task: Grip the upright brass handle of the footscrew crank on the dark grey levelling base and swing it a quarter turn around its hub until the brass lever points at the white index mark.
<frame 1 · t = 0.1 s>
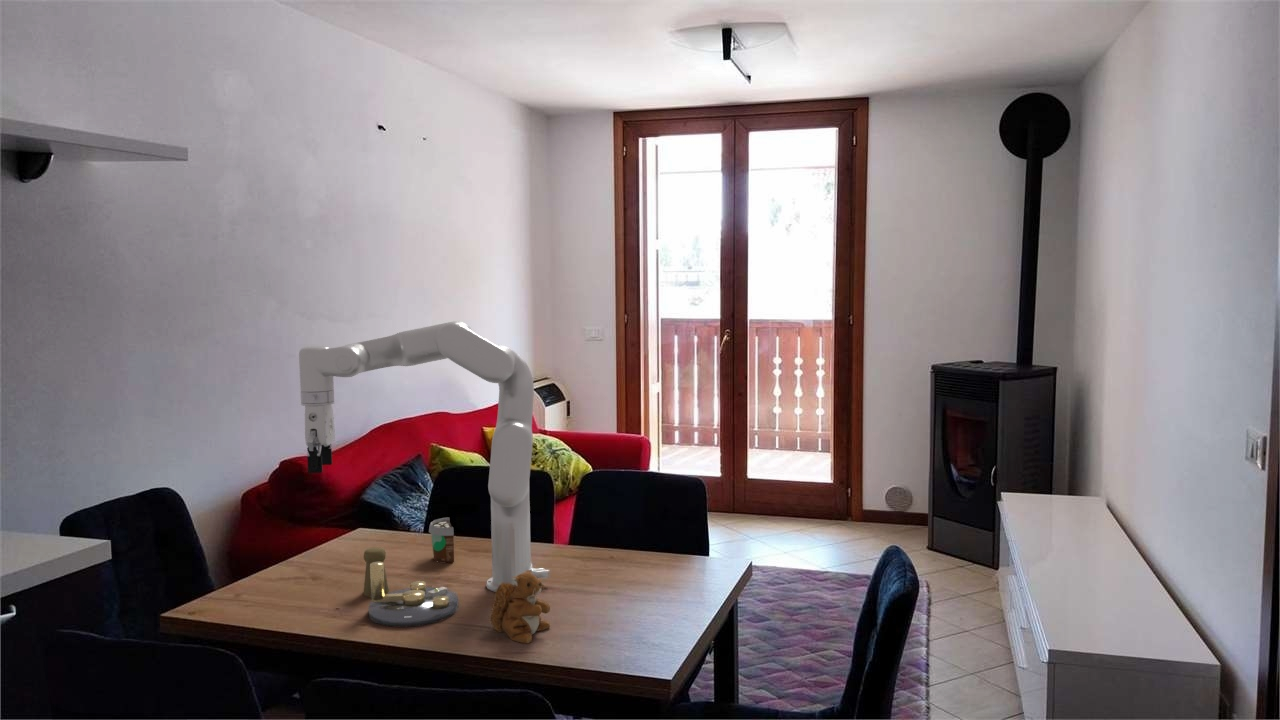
hand: (320, 468, 213), 31 cm above the table, tool pointing down, fingers open, 9 cm apart
footscrew crank: (397, 582, 203), point 7 cm above the table, hinge at 0.0°
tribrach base: (414, 610, 204), on the table
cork: (376, 593, 217), on the table
stuffed squirrel: (517, 632, 191), on the table
food container: (441, 559, 243), on the table
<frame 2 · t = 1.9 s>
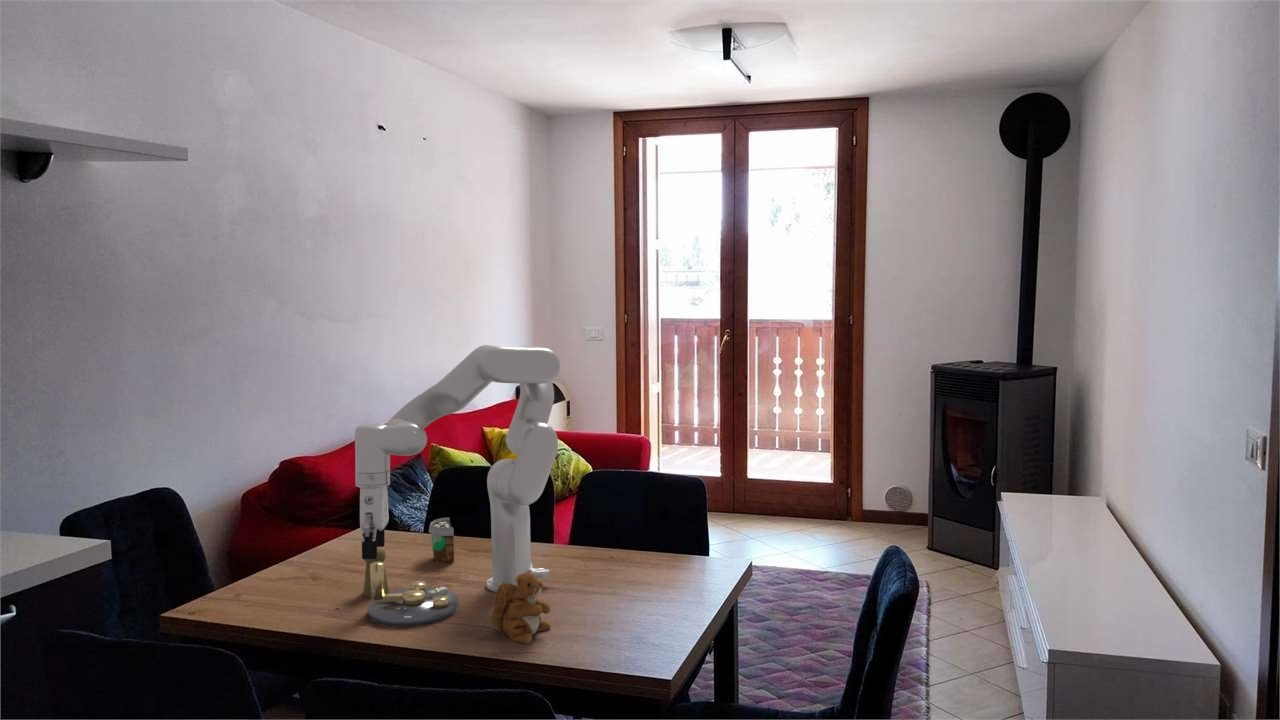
hand: (373, 552, 202), 14 cm above the table, tool pointing down, fingers open, 9 cm apart
nothing on the table moved.
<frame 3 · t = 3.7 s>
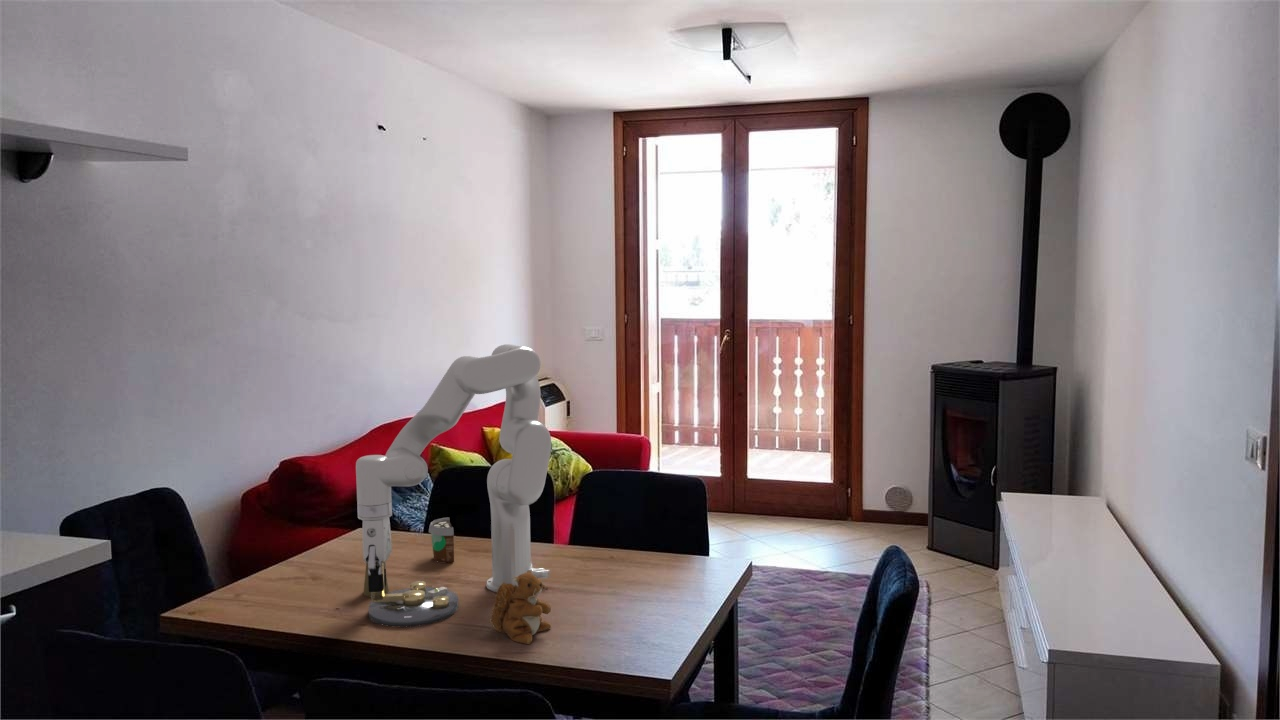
hand: (377, 587, 203), 6 cm above the table, tool pointing down, fingers closed on footscrew crank, 3 cm apart
footscrew crank: (397, 582, 203), point 7 cm above the table, hinge at 0.0°, touching gripper
everything else where it was.
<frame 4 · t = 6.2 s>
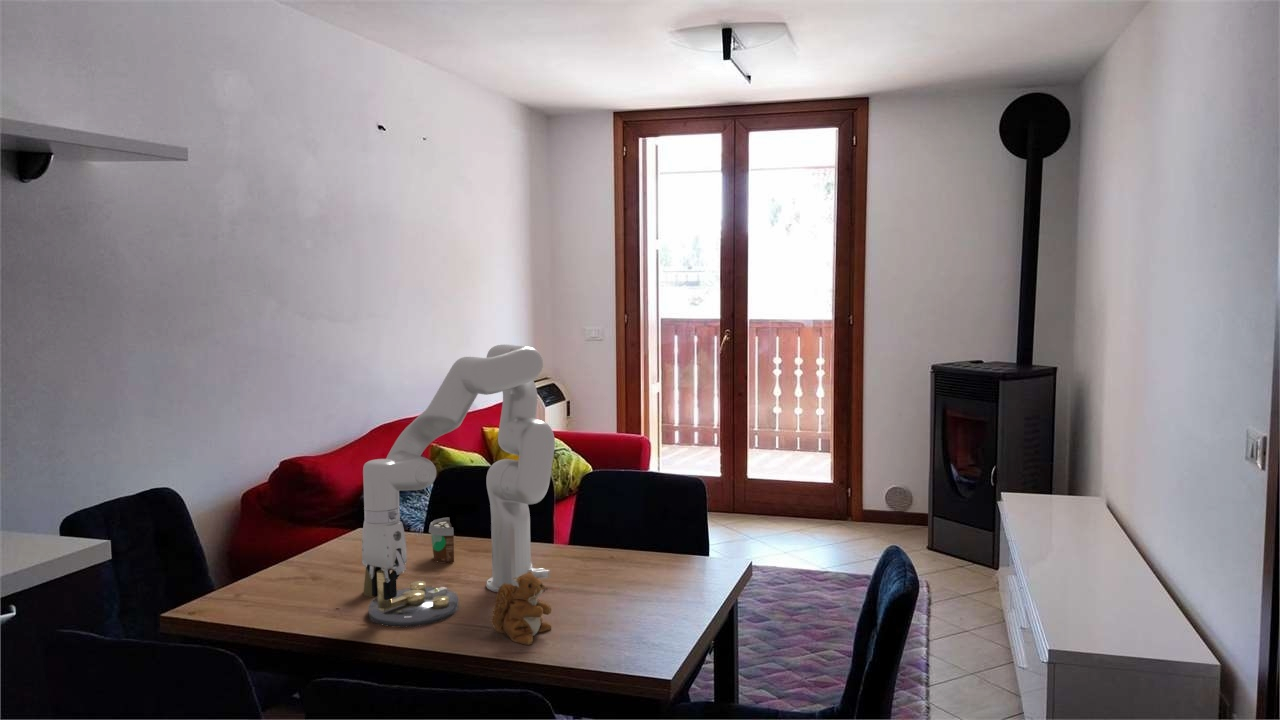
hand: (384, 595, 197), 6 cm above the table, tool pointing down, fingers closed on footscrew crank, 3 cm apart
footscrew crank: (400, 585, 201), point 7 cm above the table, hinge at 46.4°, touching gripper
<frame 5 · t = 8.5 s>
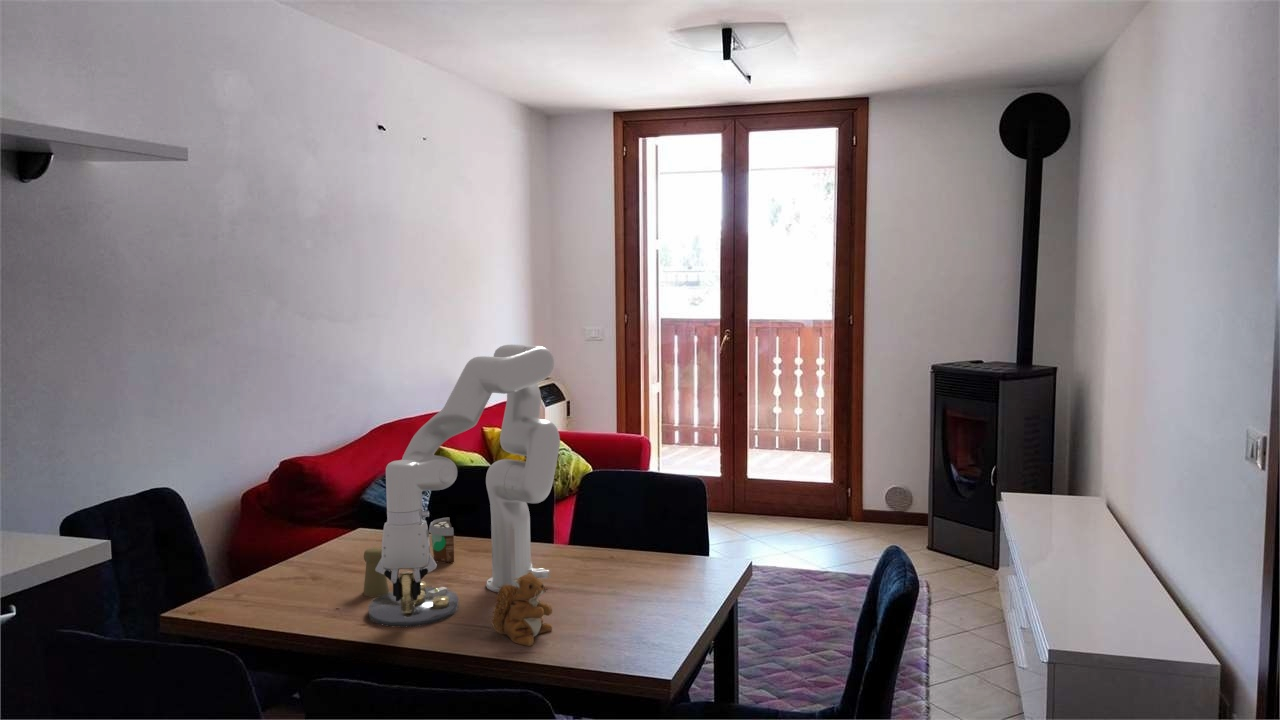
hand: (407, 597, 195), 6 cm above the table, tool pointing down, fingers closed on footscrew crank, 3 cm apart
footscrew crank: (410, 586, 200), point 7 cm above the table, hinge at 88.3°, touching gripper
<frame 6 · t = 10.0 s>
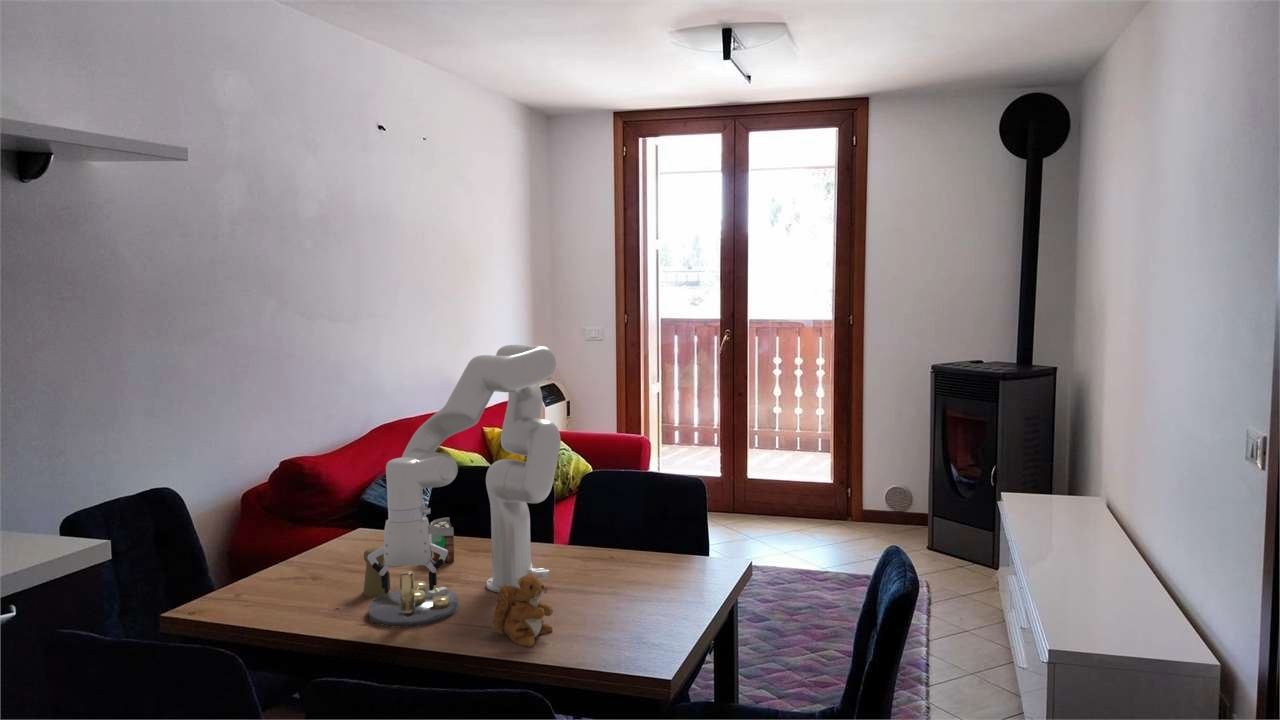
hand: (409, 589, 196), 7 cm above the table, tool pointing down, fingers open, 9 cm apart
footscrew crank: (410, 586, 200), point 7 cm above the table, hinge at 88.4°
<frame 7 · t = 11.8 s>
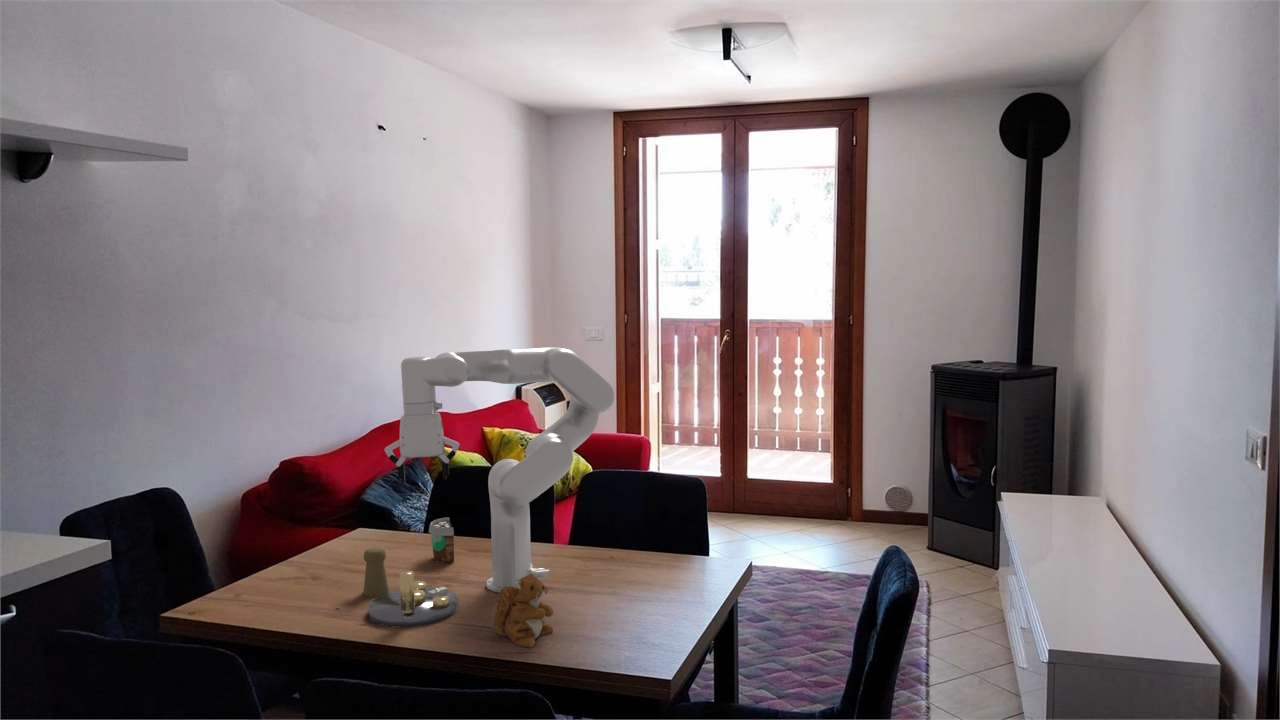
hand: (424, 480, 211), 28 cm above the table, tool pointing down, fingers open, 9 cm apart
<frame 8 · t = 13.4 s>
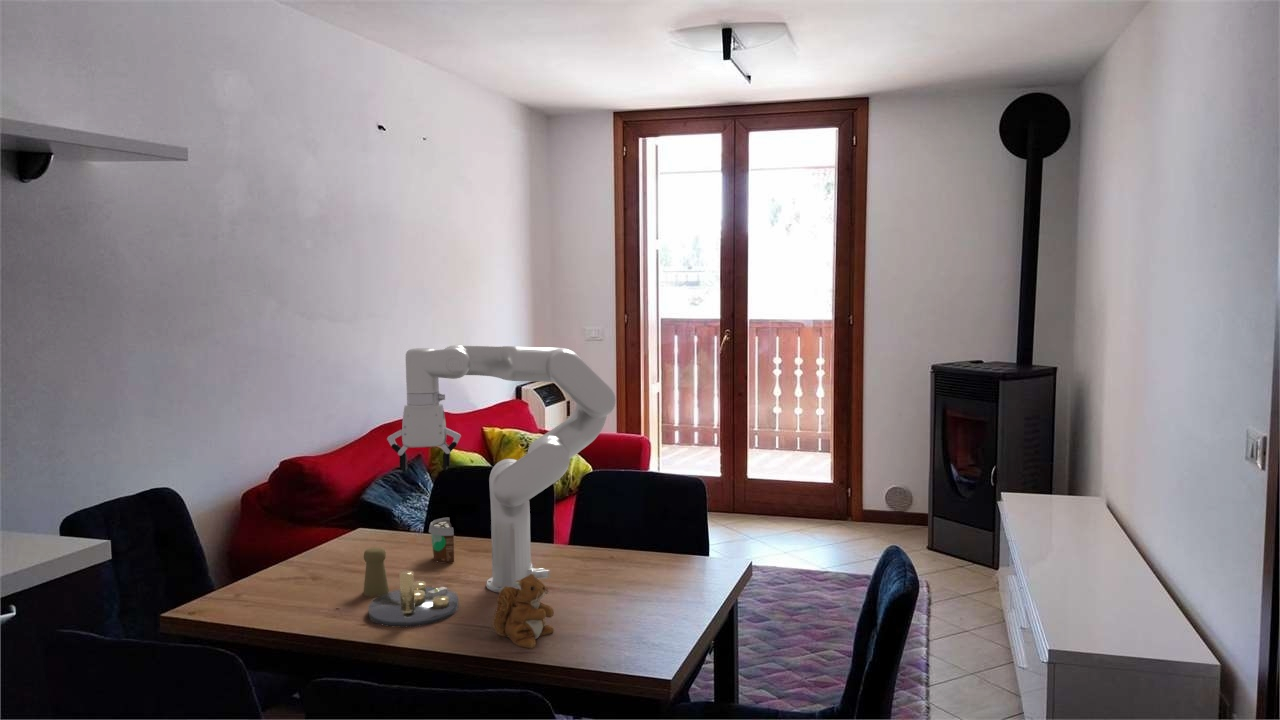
hand: (425, 470, 214), 30 cm above the table, tool pointing down, fingers open, 9 cm apart
at the end: footscrew crank at +88° (first picture: +0°) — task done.
